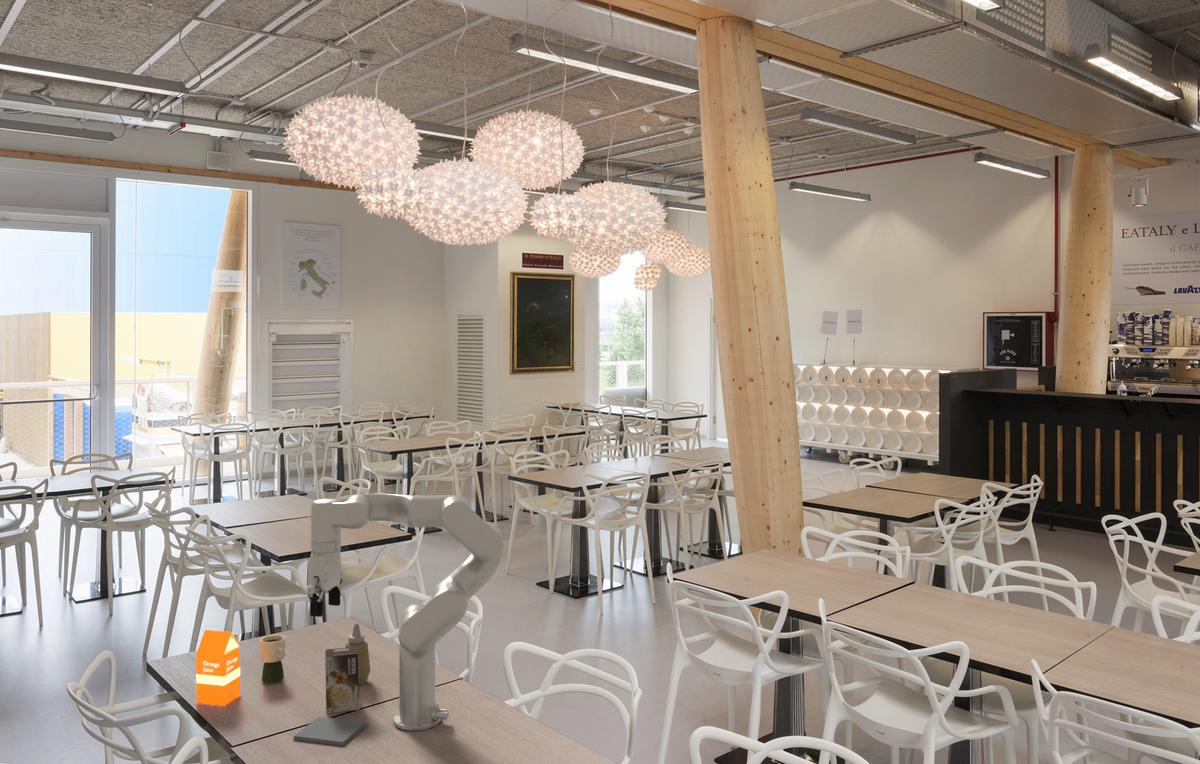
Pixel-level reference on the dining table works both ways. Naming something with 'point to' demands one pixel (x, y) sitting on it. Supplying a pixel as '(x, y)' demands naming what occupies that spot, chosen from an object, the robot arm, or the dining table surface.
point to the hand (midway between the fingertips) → (325, 610)
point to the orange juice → (218, 668)
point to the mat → (330, 731)
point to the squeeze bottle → (360, 653)
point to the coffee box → (342, 679)
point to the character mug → (272, 657)
